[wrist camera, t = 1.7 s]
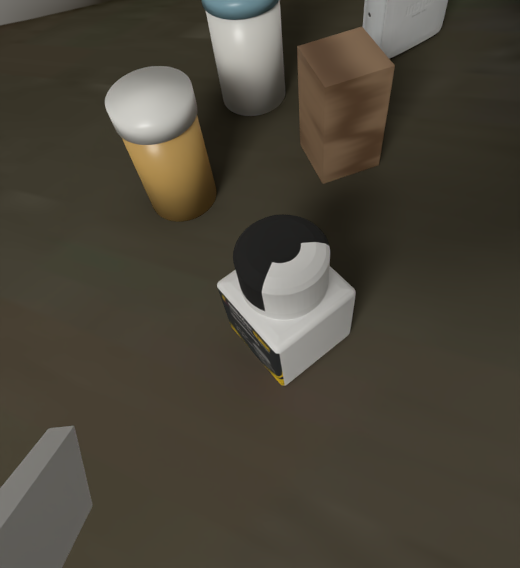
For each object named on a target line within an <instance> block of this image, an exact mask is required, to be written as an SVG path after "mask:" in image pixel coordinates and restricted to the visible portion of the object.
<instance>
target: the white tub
mask: <svg viewBox="0 0 520 568" xmlns="http://www.w3.org/2000/svg"><path fill="white" fill-rule="evenodd" d="M202 5H203V7H204V9H205V10H206V14H207V19H208V25H209V30H210V35H211V40H212V45H213V50H214V55H215V60H216V65H217V71H218V76H219V81H220V86H221V91H222V96H223V101H224V104H225V106H226V107H227V108H228V109H229V110H230V111H232V112H234V113H236V114H239V115H243V116H257V115H262V114H265V113H268V112H270V111H272V110H274V109H275V108H277V107H278V106H279V105H280V104H281V103H282V101H283V100H284V97H285V78H284V62H283V45H282V29H281V13H280V0H202Z"/></svg>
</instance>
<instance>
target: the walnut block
mask: <svg viewBox="0 0 520 568" xmlns="http://www.w3.org/2000/svg"><path fill="white" fill-rule="evenodd" d="M297 55H298V86H299V116H300V144H301V146H302V148H303V150H304V152H305V153H306V155H307V157H308V159H309V160H310V162H311V164H312V166H313V167H314V169H315V171H316V173H317V174H318V176H319V178H320V180H321V181H322V183H323V184H324V183H327V182H330V181H333V180H336V179H339V178H342V177H345V176H348V175H351V174H354V173H357V172H360V171H363V170H366V169H369V168H372V167H375V166H378V165H379V161H380V155H381V149H382V142H383V136H384V130H385V124H386V117H387V111H388V105H389V99H390V93H391V86H392V80H393V74H394V68H395V65H394V64H393V63H392V62H391V60H390V59H389V58H388V57H387V56H386V55H385V53H384V52H383V51H382V50H381V49H380V47H379V46H378V45H377V44H376V43H375V41H374V40H373V39H372V38H371V37H370V35H369V34H368V33H367V32H366V31H365V29H364V28H363V27H359V28H356V29H352V30H349V31H346V32H343V33H339V34H336V35H333V36H329V37H326V38H323V39H320V40H316V41H313V42H310V43H307V44H303V45H300V46H297Z"/></svg>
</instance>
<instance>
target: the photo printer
mask: <svg viewBox="0 0 520 568" xmlns="http://www.w3.org/2000/svg"><path fill="white" fill-rule="evenodd" d="M447 3H448V0H365V5H364V17H363V28H364V29H365V31H366V32H367V33H368V34H369V35H370V37H371V38H372V39H373V40H374V41H375V43H376V44H377V45H378V46H379V47H380V49H381V50H382V51H383V52H384V53H385V55H386V56H387V57H388V58H389V59H390V58H392V57H394V56H396V55H398V54H400V53H402V52H404V51H406V50H408V49H410V48H412V47H414V46H416V45H418V44H419V43H421V42H423V41H425V40H427V39H428V38H430V37H432V36H433V35H435V34H436V33H438V32H439V31H440V29H441V27H442V24H443V20H444V15H445V11H446V7H447Z"/></svg>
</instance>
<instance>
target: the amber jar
mask: <svg viewBox="0 0 520 568" xmlns="http://www.w3.org/2000/svg"><path fill="white" fill-rule="evenodd" d="M105 107H106V110H107V112H108V114H109V116H110V119H111V121H112V123H113V125H114V127H115V130H116V132H117V133H118V134H119V136H120V137H122V139H123V141H124V144H125V146H126V148H127V150H128V152H129V155H130V157H131V159H132V161H133V164H134V166H135V168H136V170H137V172H138V175H139V177H140V179H141V181H142V183H143V186H144V188H145V190H146V192H147V195H148V197H149V199H150V201H151V203H152V206H153V208H154V210H155V211H156V213H157V214H158V215H160V216H161V217H163V218H165V219H167V220H170V221H188V220H191V219H194V218H197V217H199V216H201V215H202V214H204V213H205V212H206V211H207V210H208V209H209V208H210V207H211V206H212V205H213V203H214V201H215V198H216V192H217V191H216V186H215V182H214V178H213V174H212V170H211V166H210V163H209V159H208V155H207V151H206V147H205V143H204V140H203V136H202V132H201V128H200V124H199V120H198V117H197V103H196V99H195V95H194V91H193V88H192V84H191V81H190V79H189V78H188V76H187V75H186V74H184V73H183V72H182V71H180V70H178V69H175V68H172V67H166V66H153V67H146V68H142V69H138V70H135V71H133V72H131V73H129V74H127V75H125V76H123V77H122V78H120V79H119V80H118V81H117V82H115V83H114V84H113V86H112V87H111V88H110V89H109V91H108V93H107V95H106V99H105Z"/></svg>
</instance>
